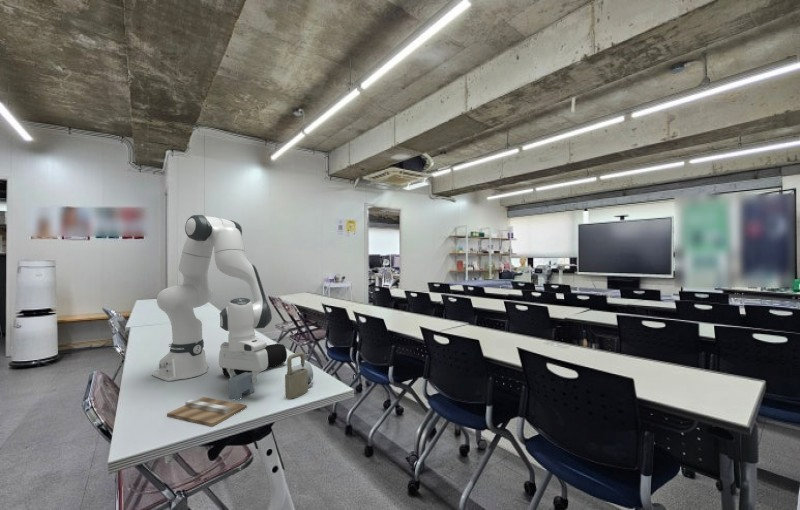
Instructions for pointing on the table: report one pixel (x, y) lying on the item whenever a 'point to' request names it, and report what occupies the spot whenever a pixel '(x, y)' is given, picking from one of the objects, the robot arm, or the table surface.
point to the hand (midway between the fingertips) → (243, 381)
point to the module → (240, 385)
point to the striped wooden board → (206, 411)
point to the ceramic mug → (309, 370)
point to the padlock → (296, 378)
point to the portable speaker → (275, 358)
